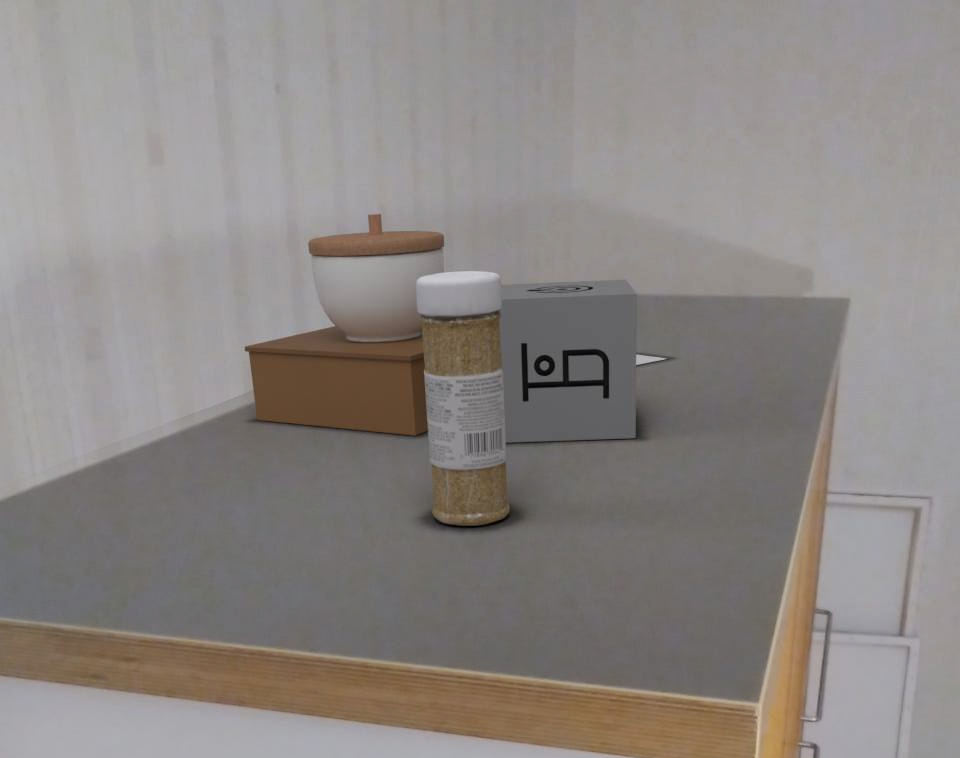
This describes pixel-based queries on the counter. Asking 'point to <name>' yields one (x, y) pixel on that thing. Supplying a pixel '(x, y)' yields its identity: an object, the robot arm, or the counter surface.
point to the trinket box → (374, 280)
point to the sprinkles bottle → (464, 395)
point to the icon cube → (569, 360)
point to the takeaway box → (341, 382)
